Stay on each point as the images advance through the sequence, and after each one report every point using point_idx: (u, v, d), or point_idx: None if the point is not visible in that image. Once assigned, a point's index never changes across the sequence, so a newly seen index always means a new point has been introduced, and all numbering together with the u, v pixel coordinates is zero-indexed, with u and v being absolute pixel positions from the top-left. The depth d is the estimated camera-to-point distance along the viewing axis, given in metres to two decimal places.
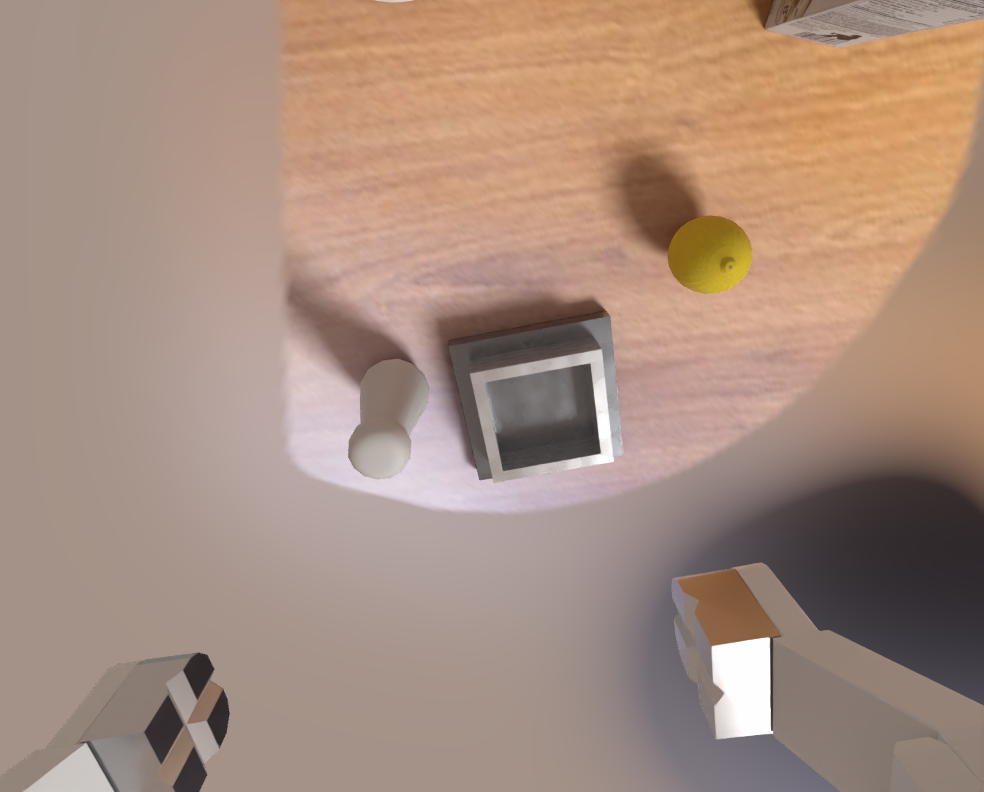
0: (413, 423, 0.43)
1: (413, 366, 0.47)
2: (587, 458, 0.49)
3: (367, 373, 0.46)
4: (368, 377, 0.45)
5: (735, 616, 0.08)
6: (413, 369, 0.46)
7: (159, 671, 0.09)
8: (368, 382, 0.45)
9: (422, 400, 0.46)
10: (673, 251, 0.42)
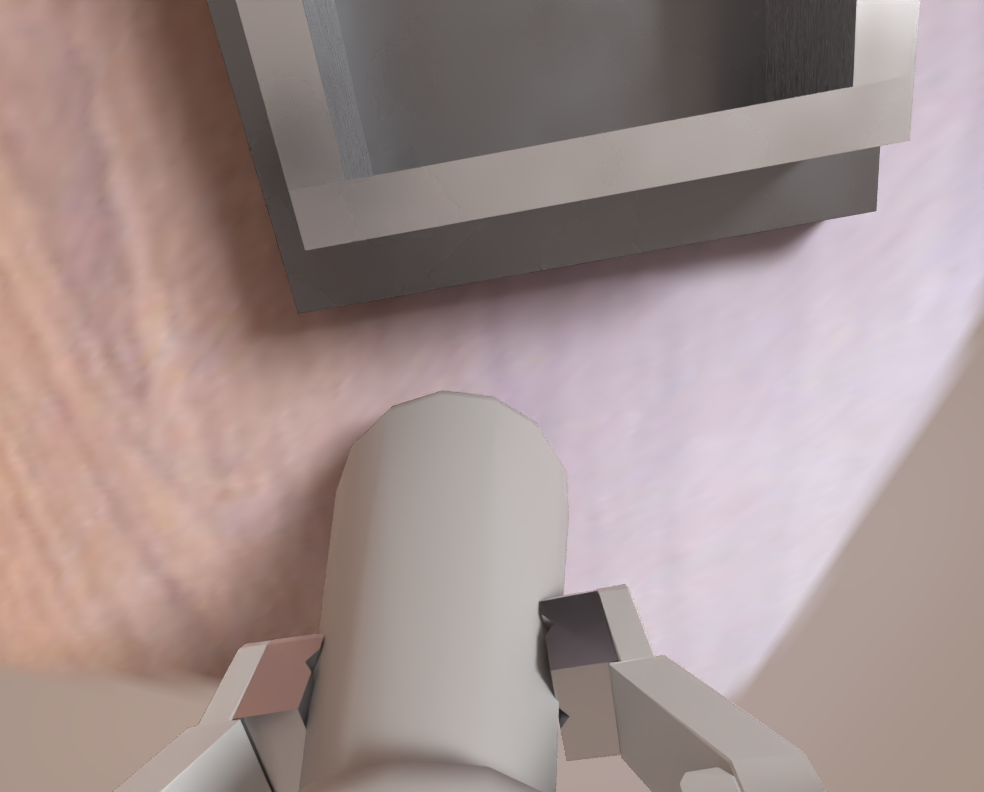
0: (465, 556, 0.09)
1: (359, 439, 0.14)
2: None
3: None
4: None
5: (582, 640, 0.08)
6: (357, 448, 0.13)
7: (294, 650, 0.09)
8: None
9: (436, 451, 0.11)
10: None
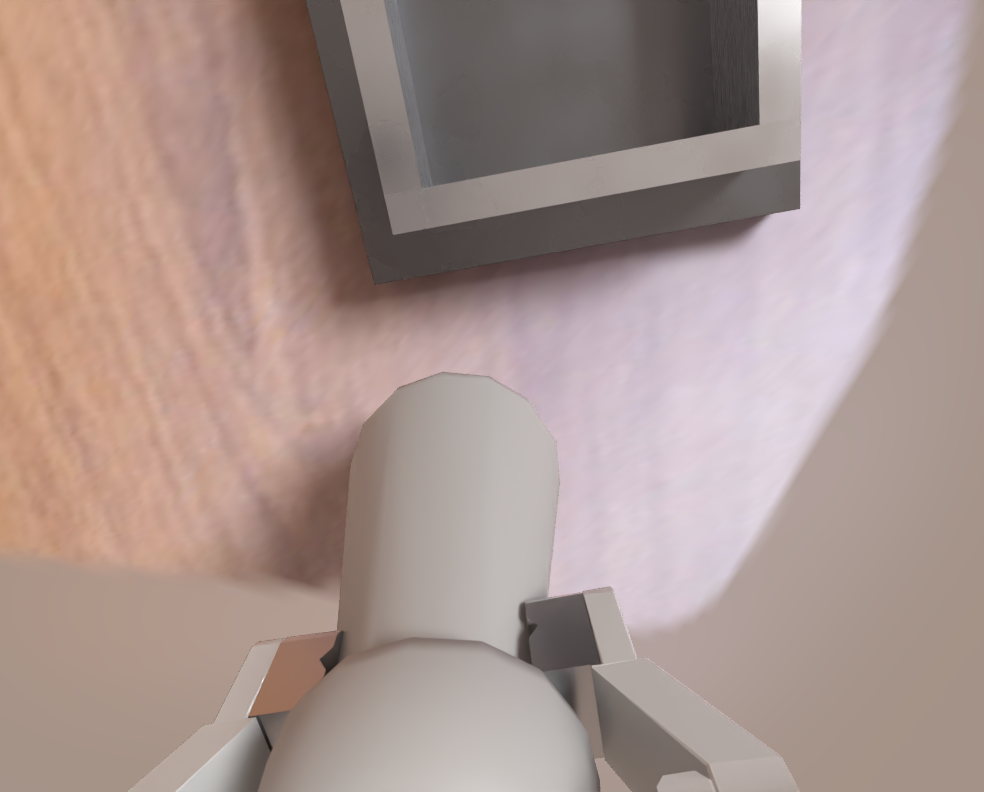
0: (464, 502, 0.10)
1: None
2: None
3: None
4: None
5: (566, 642, 0.08)
6: (368, 424, 0.15)
7: (308, 648, 0.09)
8: None
9: (438, 421, 0.13)
10: None
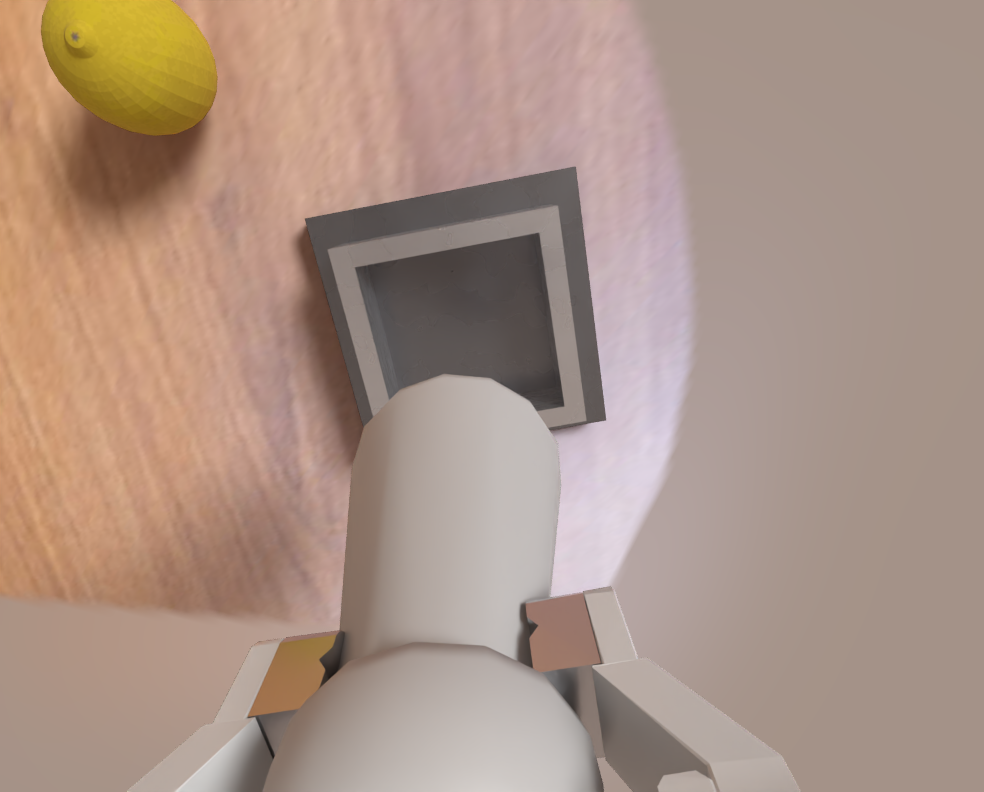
0: (466, 505, 0.10)
1: None
2: (548, 258, 0.26)
3: None
4: None
5: (566, 643, 0.08)
6: (369, 427, 0.15)
7: (307, 648, 0.09)
8: None
9: (440, 423, 0.13)
10: (141, 133, 0.24)
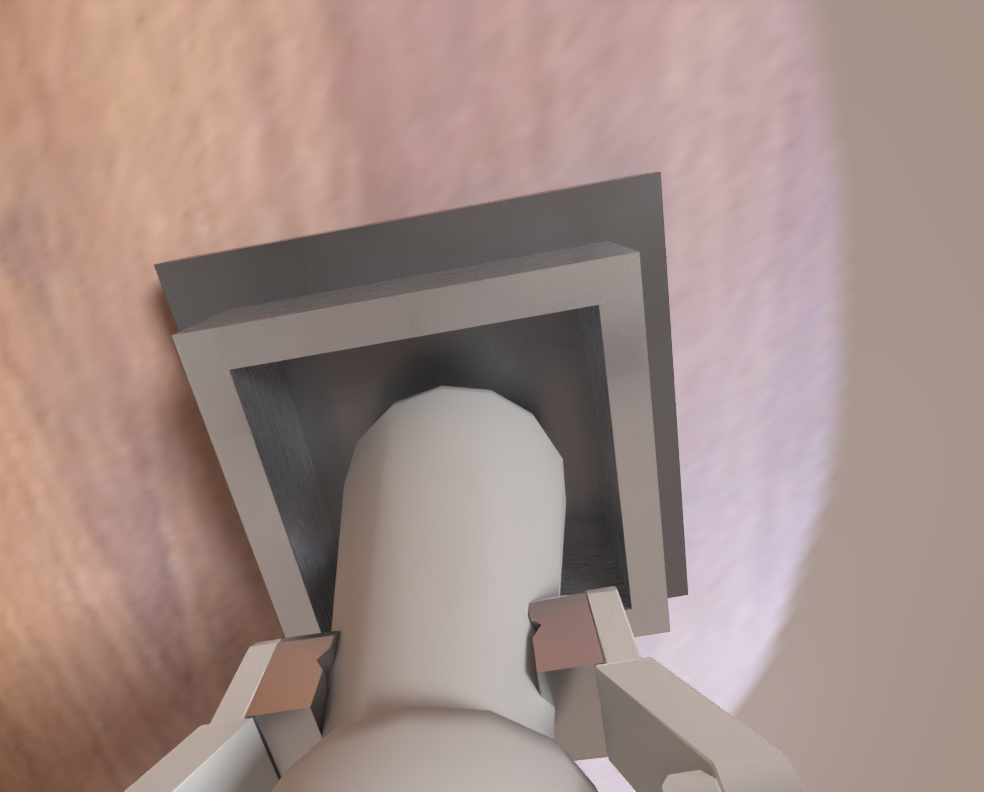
0: (466, 535, 0.10)
1: (364, 434, 0.14)
2: (614, 353, 0.13)
3: None
4: None
5: (569, 642, 0.08)
6: (363, 442, 0.14)
7: (305, 648, 0.09)
8: None
9: (438, 441, 0.12)
10: None
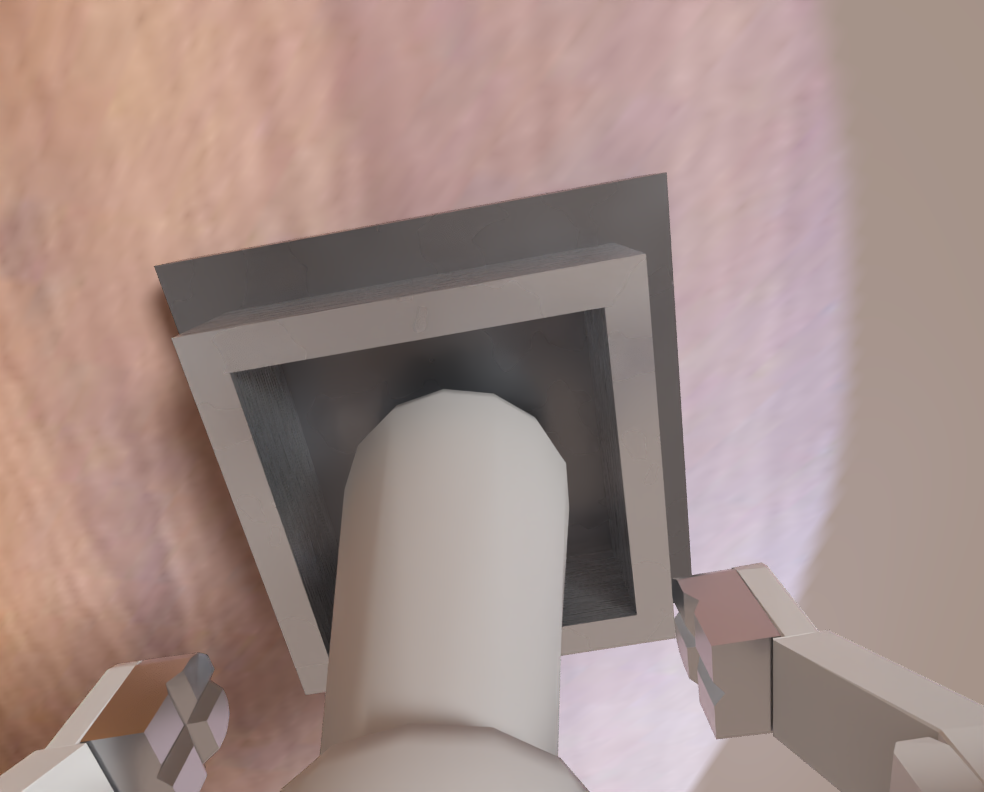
0: (468, 542, 0.09)
1: (364, 438, 0.14)
2: (620, 356, 0.13)
3: None
4: None
5: (735, 616, 0.08)
6: (363, 446, 0.14)
7: (159, 671, 0.09)
8: None
9: (439, 446, 0.12)
10: None
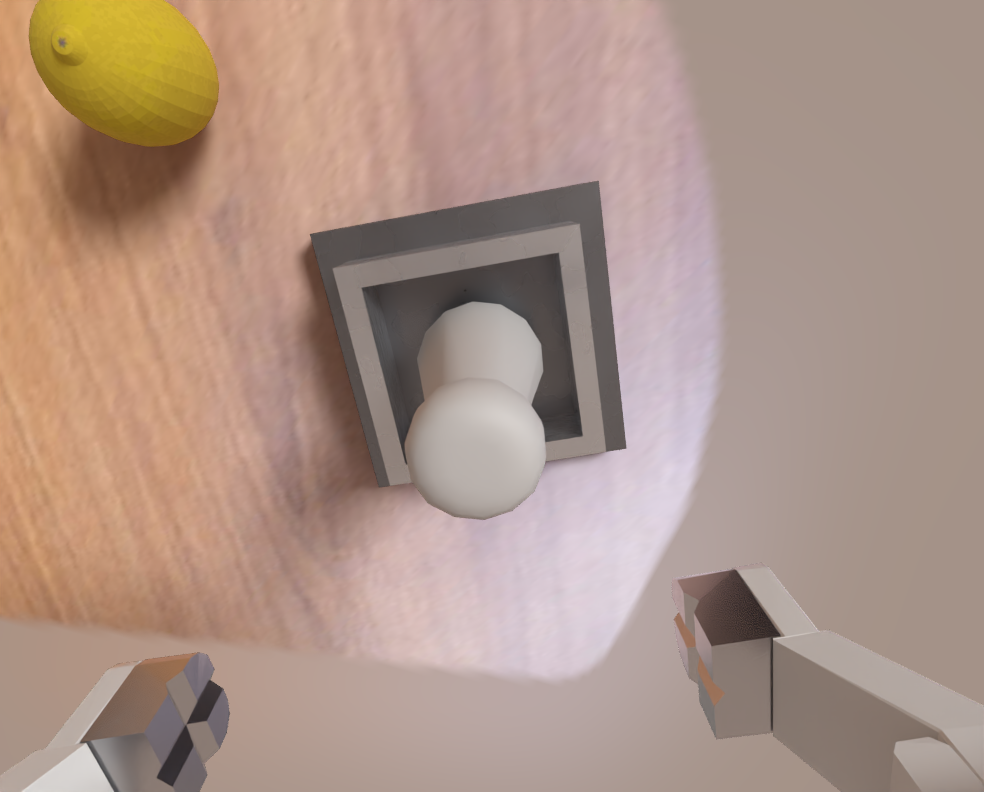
0: (487, 350, 0.21)
1: (429, 328, 0.26)
2: (567, 279, 0.24)
3: None
4: None
5: (735, 616, 0.08)
6: (429, 330, 0.25)
7: (159, 671, 0.09)
8: None
9: (472, 321, 0.23)
10: None
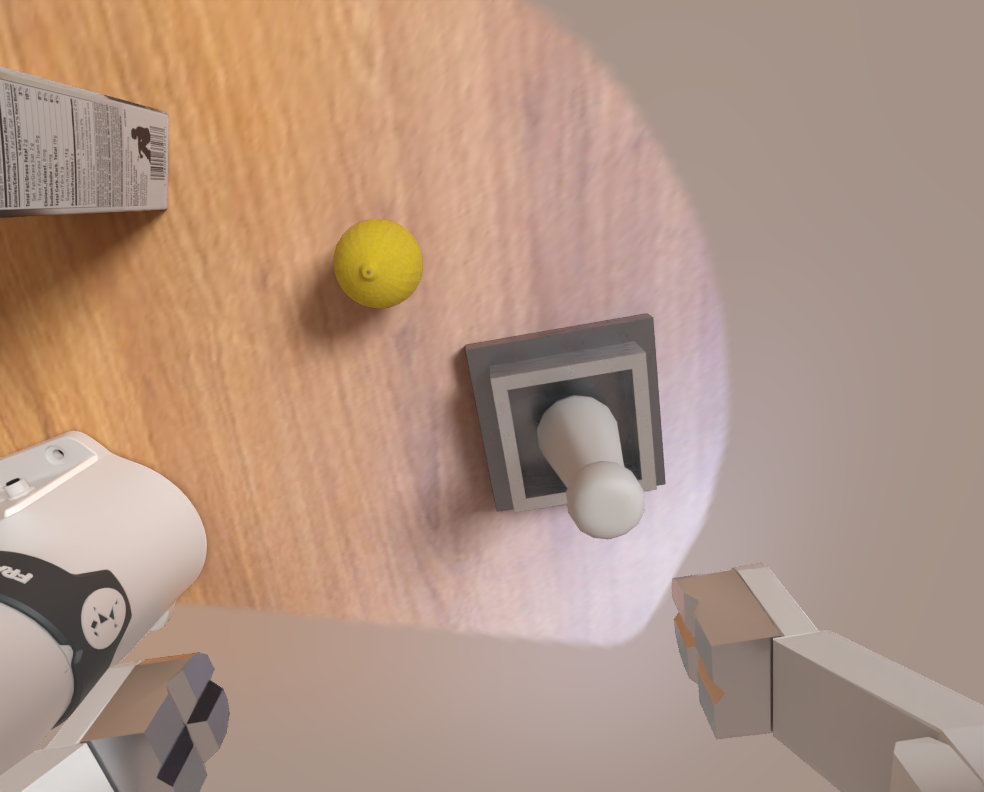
0: (598, 437, 0.35)
1: (545, 412, 0.40)
2: (636, 384, 0.39)
3: (550, 464, 0.41)
4: (551, 466, 0.40)
5: (735, 616, 0.08)
6: (547, 415, 0.39)
7: (159, 671, 0.09)
8: (554, 470, 0.39)
9: (580, 413, 0.38)
10: None
